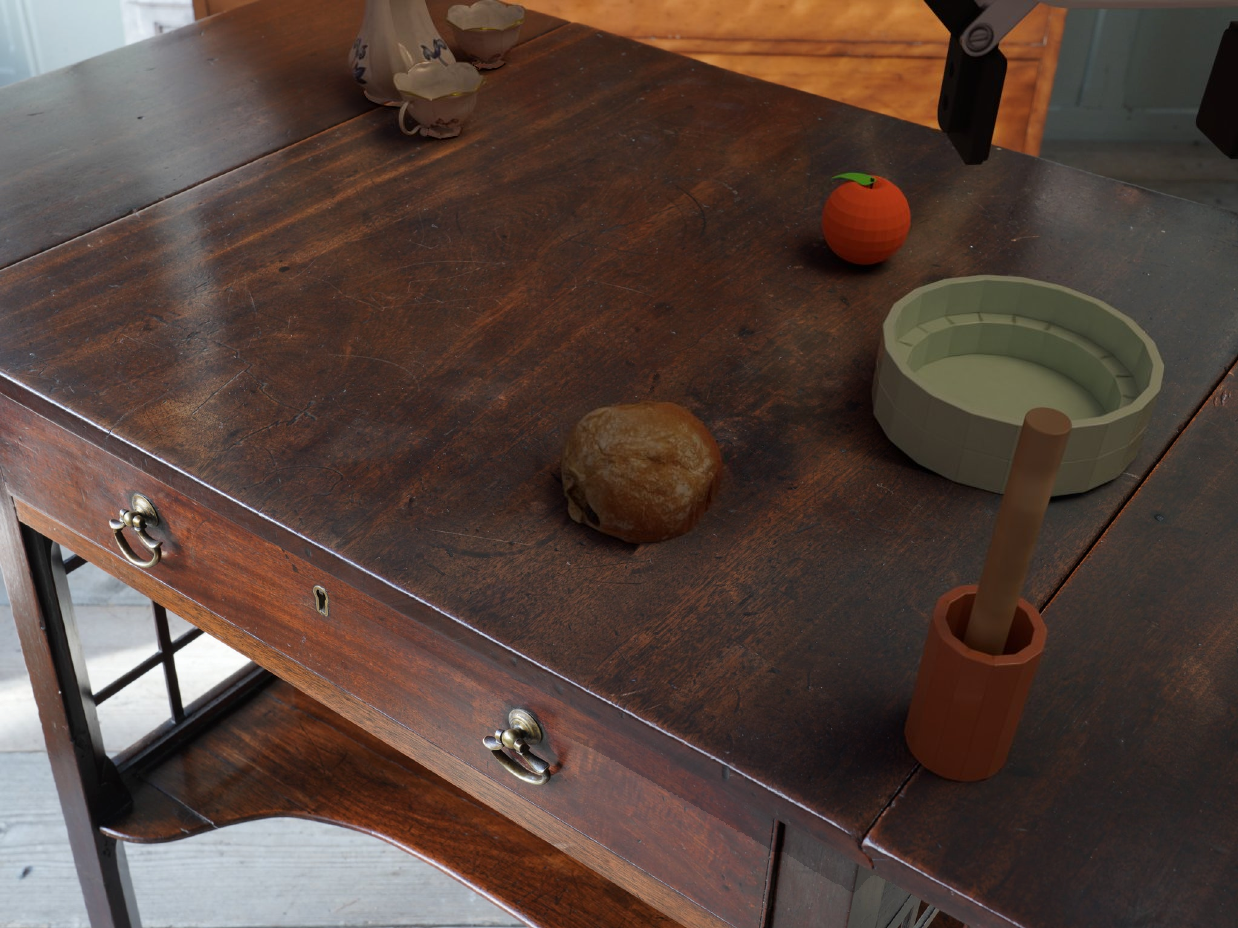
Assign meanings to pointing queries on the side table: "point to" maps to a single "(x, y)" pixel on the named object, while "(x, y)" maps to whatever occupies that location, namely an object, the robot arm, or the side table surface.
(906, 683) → the side table surface
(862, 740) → the side table surface
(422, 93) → the chinaware
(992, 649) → the stick
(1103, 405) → the bowl
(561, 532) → the side table surface
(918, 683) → the holder
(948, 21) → the robot arm
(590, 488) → the bread roll
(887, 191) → the clementine
